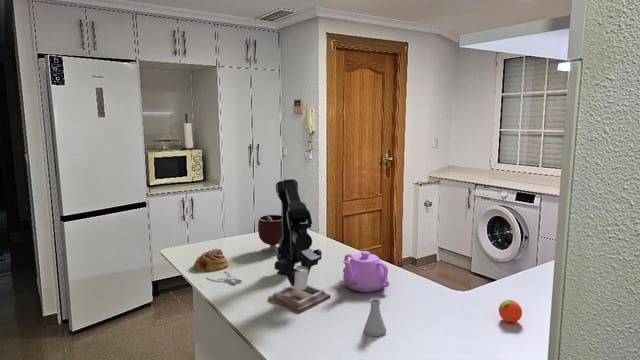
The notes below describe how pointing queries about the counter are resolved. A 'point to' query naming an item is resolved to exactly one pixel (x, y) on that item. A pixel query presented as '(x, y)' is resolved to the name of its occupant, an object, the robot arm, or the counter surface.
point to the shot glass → (300, 278)
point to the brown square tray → (299, 298)
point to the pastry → (211, 261)
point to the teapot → (365, 272)
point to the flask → (375, 320)
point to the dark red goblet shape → (270, 233)
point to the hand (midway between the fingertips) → (299, 282)
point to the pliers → (227, 279)
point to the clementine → (510, 311)
